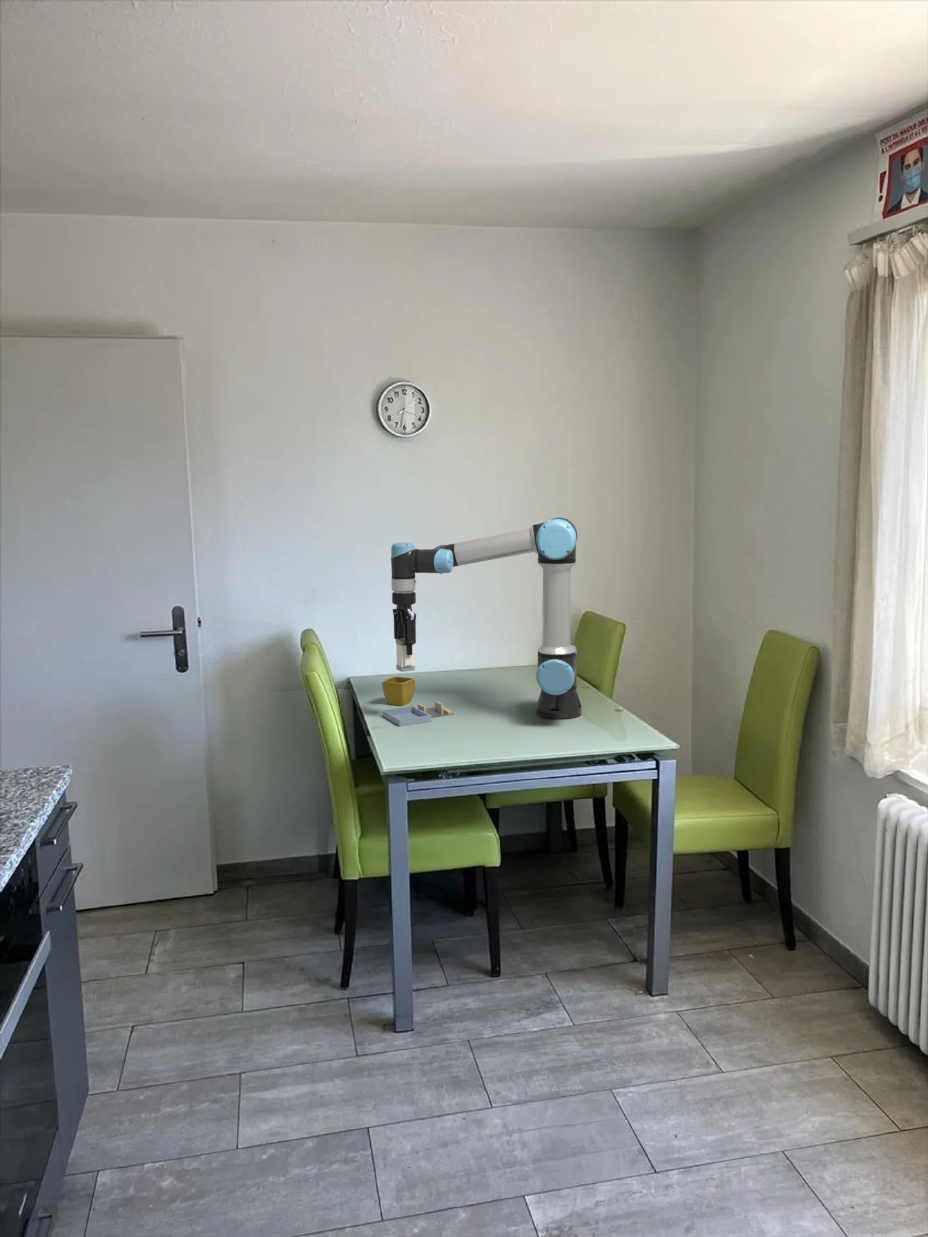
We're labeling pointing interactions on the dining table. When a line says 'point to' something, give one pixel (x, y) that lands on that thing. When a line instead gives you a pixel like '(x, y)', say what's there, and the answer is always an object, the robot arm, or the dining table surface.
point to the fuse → (402, 657)
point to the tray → (406, 716)
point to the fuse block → (435, 710)
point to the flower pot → (398, 690)
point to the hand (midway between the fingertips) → (405, 663)
